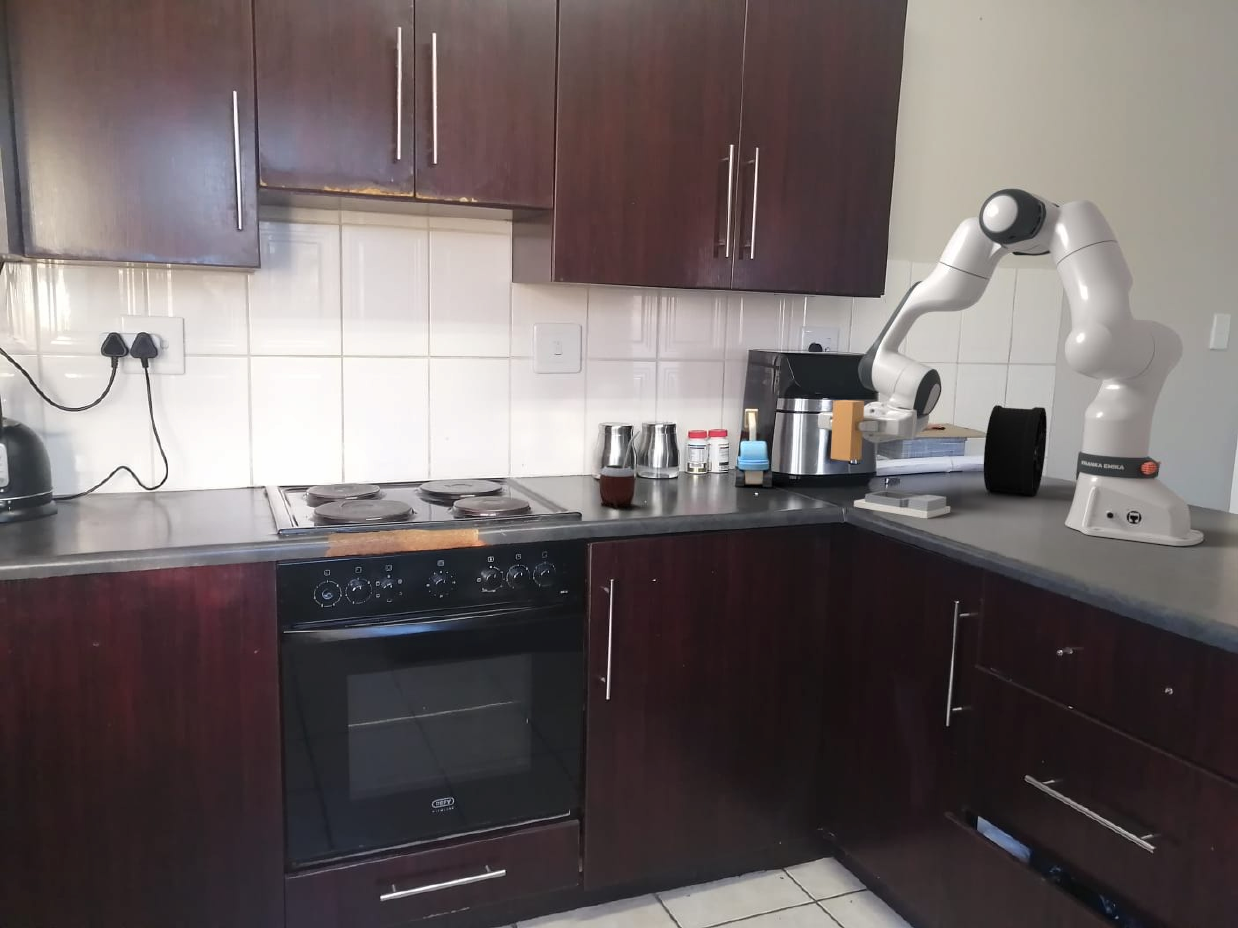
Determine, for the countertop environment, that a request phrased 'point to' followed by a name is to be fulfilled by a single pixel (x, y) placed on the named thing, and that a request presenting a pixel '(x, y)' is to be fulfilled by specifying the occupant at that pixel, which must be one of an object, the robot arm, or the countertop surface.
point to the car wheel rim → (1015, 449)
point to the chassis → (904, 504)
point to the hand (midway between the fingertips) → (845, 425)
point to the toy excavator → (753, 457)
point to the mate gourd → (618, 483)
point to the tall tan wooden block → (846, 430)
